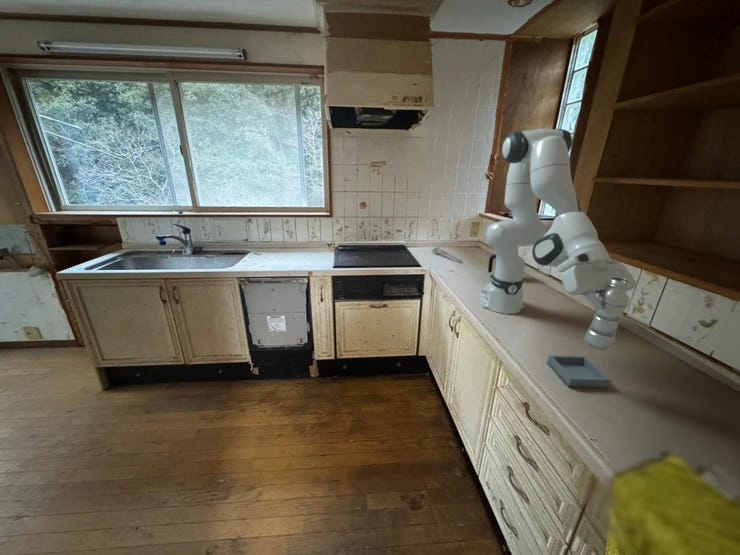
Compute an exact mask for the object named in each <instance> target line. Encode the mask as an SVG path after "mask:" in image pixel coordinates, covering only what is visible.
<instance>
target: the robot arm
mask: <svg viewBox="0 0 740 555" xmlns="http://www.w3.org/2000/svg"><path fill="white" fill-rule="evenodd" d="M572 144H573V137H572V134H571V132H570V131H569V130H566V129H563V128H555V129H553V128H538V129H529V130H523V131H521V130H516V131H513V132H511V133H508V135H507V136H506V137H505V139H504V141H503V144H502V149H501V155H502V158H503V160H504V161H505V162H506V163H508V164H509V163H510V164H509V167H508V170H507V176H506V183H505V189H504V190H505V191H504V202H503V203H504V206H505V207H506V208H507V209H509V211H510V212H511V214H512V219H511V220H509V219H508V220H507V219H506V220H501V221H498V222H497V221H496V222H494V223H491V224H490V225H489V226H488V227H487V229H486V231H485V239H486V242H487V244H488V245H489V246H491V247H492V248H493V250H494V254H496V258H495V259H496V260H495V270H494V274H493V278H491V281H490V282H488V283H487V284H484V287H483V288H481V292H478V293H477V297H478V299H479V303H480V306H481V307H482V308H485V309H487V310H491V311H493V312H496V313H500V314H506V315H513V314H518V313H520V312H521V310H523V309H525V304H523V301H524V300H523V299H524V290H523V289H522V288H523V284H524V279H523V278H524V272H525V268H526V262H525V260H524V259H523V257H521V256H520V255H519V248H520V247H529V246H532V252H531V254H532V258H533V260H534V261H535V263H537V265H540V266H545V267H554V268H556V269H557V271H558V272H559V273H560V278H561V281H562V284H563V286H564V289H565V291H566V292H567V293H568V294H569V295H571V296H581V295H584V297H585V299H586V300H588V301H589V302H590V303H591V304H592V306H593V308H594V310H595V311H596V310H598V309H603V308H605V305H604V303H603V301H600V300H599V299H598V295H599V294H600V292H601V291H603V290H605V289H606V288H607V287H609V285H608V283H609V282H610V279H611V278H612V277H616V278H622V279H625V280H627V281H628V285H627V289H625V291H626V292H629V291H631V290H633V289H636V288H637V284H638V283H637V282H636V280H635V278H634V276H633V275H632V273H631V272H630V270H629V268H627V266H625V264H622V263H620V262H619V261H617V259H613V260H612V259H611V257H610V255H609V253H608V251H607V249H606V247H605V245H604V244H603V243H602V242H601V241H600V239H599V236H598V232H597V230H596V227H595V226H594V224H593V223H592V221H591V219H590V218H589V217H588V215H587V214H586V213H585V212H583V211H581V204H580V202H579V201H580V200H579V198H578V197H579V196H578V195H577V194H578V193H577V192H576V190H575V186H574V184H573V179H572V173H571V161H570V160H571V159H570V154H569V153H570V150H571V148H572ZM537 199H539V200H541V201H542V202H544V203H545V204H548V205H549V206H550V207H551V209H553V210H554V211H555V213H556V214H557V216H556V217H555V218H554V219H553V222H552V224H551V226H550V228H549V229H548V231H547V227H546V225H545V223H544V222H543V221H542V220H541V219H540V217H539V214H538V210H537V204H536V201H537ZM597 294H598V295H597ZM522 308H523V309H522Z"/></svg>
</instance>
